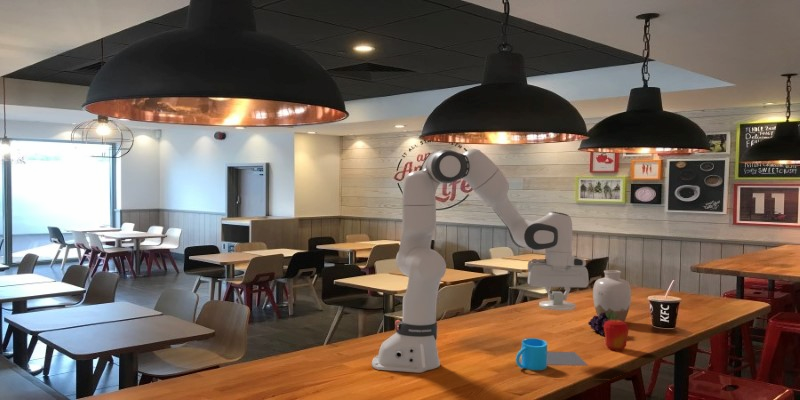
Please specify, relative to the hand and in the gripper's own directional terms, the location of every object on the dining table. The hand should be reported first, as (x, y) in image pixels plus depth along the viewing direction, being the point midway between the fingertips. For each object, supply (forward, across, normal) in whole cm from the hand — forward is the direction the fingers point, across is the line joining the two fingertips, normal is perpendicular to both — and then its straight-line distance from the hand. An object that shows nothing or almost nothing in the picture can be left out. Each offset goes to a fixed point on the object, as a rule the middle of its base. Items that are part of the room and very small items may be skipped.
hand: (557, 299), depth 210 cm
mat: (+21, +1, 0) cm, 21 cm away
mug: (+21, -11, -10) cm, 26 cm away
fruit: (+21, +30, +38) cm, 52 cm away
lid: (+2, 0, 0) cm, 2 cm away
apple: (+21, +26, +15) cm, 36 cm away
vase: (+21, +39, +58) cm, 73 cm away
